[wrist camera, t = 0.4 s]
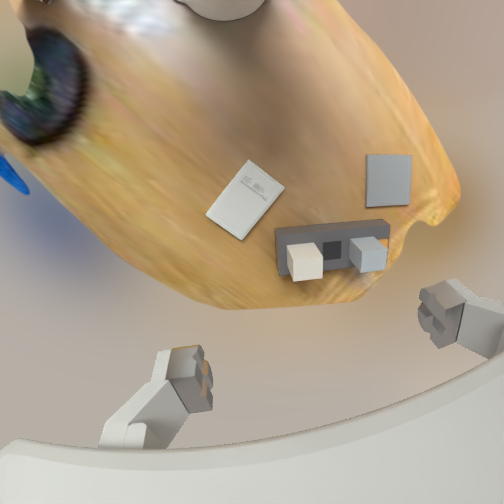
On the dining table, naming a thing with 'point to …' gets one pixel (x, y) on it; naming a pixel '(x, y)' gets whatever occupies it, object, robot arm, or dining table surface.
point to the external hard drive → (245, 200)
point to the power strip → (329, 241)
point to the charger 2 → (367, 254)
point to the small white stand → (46, 1)
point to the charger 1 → (304, 262)
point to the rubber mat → (388, 180)
